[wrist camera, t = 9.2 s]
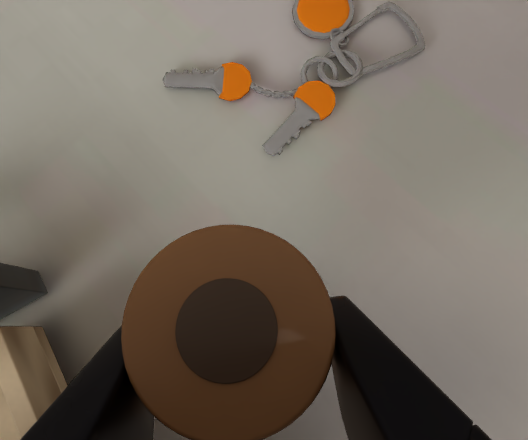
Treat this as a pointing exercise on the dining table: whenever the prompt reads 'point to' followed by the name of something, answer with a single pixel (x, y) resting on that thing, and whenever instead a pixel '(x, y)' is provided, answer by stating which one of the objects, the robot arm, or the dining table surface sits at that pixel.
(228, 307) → the paper roll
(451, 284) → the dining table surface
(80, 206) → the dining table surface
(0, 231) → the dining table surface
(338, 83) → the key chain
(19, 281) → the drawer
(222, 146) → the dining table surface
